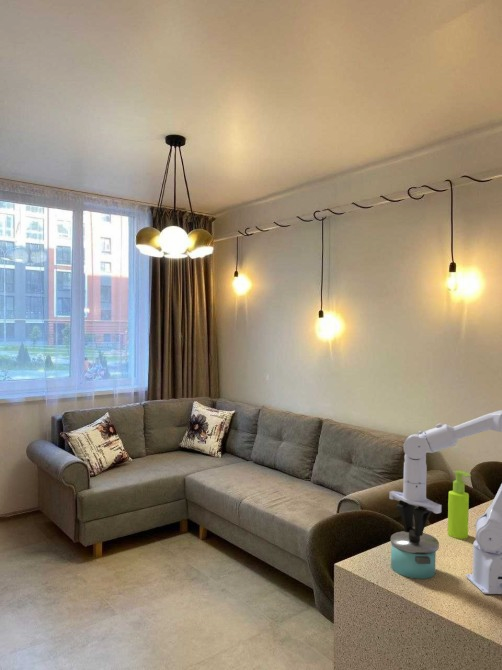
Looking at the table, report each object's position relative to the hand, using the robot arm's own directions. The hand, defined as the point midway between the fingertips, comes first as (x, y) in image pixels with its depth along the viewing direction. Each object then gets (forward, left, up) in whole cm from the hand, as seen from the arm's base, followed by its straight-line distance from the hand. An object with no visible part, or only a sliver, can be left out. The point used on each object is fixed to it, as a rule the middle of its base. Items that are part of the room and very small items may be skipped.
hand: (413, 533), depth 131 cm
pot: (0, 0, -9) cm, 9 cm away
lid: (0, 0, -3) cm, 3 cm away
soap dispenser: (+24, -24, -9) cm, 35 cm away
